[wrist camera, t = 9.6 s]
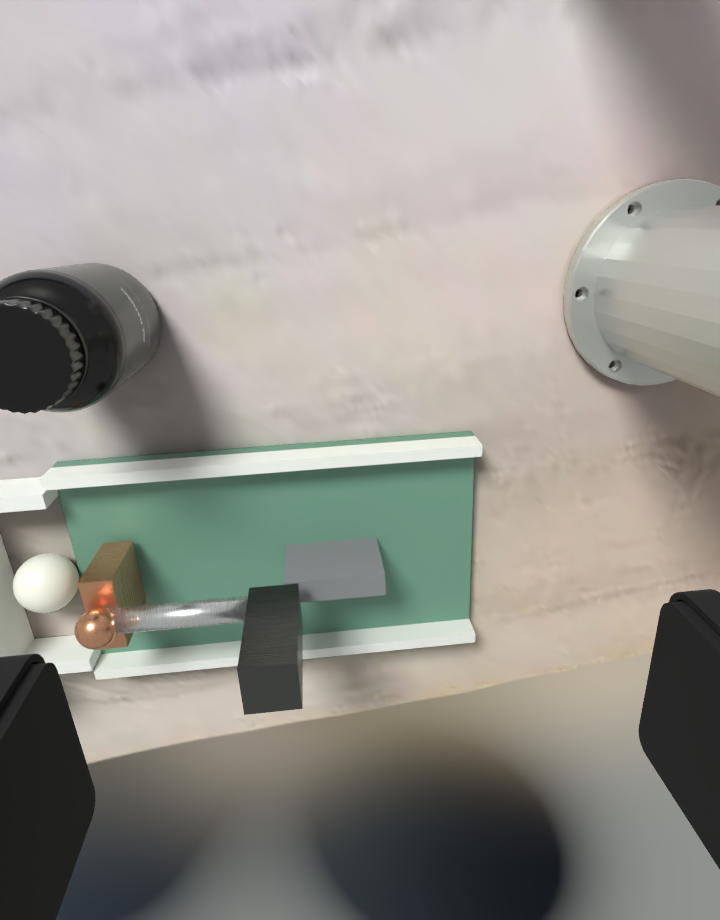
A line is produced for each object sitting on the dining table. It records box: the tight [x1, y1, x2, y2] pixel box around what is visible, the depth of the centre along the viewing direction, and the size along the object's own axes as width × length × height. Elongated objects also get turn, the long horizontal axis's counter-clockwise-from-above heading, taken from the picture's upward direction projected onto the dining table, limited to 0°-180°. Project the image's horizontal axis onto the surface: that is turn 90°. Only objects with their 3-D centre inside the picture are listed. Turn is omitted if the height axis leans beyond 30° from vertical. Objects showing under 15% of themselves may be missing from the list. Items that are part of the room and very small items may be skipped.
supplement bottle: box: [0, 263, 161, 414], centre depth 30 cm, size 7×7×12 cm
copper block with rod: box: [75, 540, 303, 715], centre depth 35 cm, size 13×5×12 cm, turn 93°
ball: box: [13, 553, 79, 613], centre depth 40 cm, size 4×4×4 cm
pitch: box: [0, 431, 482, 680], centre depth 39 cm, size 34×16×6 cm, turn 93°
